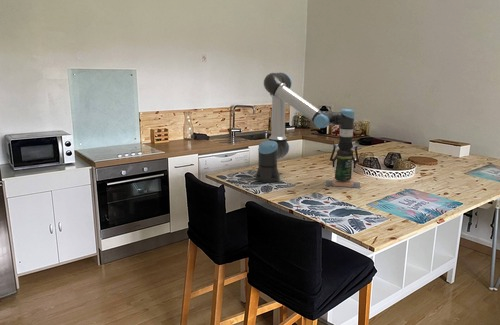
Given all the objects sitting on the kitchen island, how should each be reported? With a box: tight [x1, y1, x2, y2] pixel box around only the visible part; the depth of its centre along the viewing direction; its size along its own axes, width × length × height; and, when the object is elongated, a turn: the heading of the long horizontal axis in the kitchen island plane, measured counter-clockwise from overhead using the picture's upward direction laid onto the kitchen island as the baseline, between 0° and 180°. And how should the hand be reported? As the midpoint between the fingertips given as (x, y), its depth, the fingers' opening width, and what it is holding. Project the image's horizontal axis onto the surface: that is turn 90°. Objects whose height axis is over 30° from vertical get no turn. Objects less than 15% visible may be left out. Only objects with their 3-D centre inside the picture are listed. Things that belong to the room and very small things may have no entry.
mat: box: [325, 179, 361, 189], centre depth 228 cm, size 20×11×1 cm, turn 76°
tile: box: [332, 176, 354, 188], centre depth 228 cm, size 12×2×12 cm
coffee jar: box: [334, 149, 354, 181], centre depth 225 cm, size 10×8×19 cm
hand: (343, 172), depth 226 cm, fingers open, 9 cm apart
